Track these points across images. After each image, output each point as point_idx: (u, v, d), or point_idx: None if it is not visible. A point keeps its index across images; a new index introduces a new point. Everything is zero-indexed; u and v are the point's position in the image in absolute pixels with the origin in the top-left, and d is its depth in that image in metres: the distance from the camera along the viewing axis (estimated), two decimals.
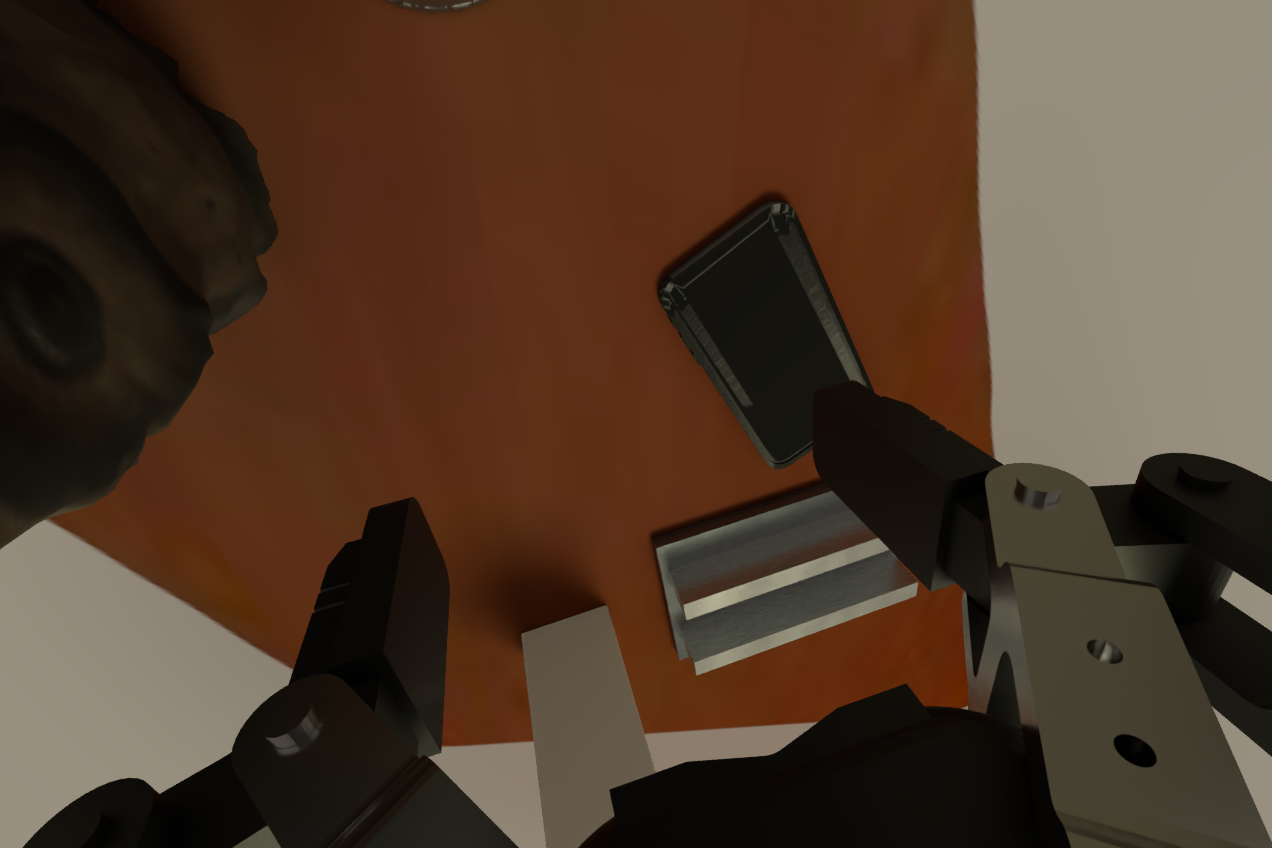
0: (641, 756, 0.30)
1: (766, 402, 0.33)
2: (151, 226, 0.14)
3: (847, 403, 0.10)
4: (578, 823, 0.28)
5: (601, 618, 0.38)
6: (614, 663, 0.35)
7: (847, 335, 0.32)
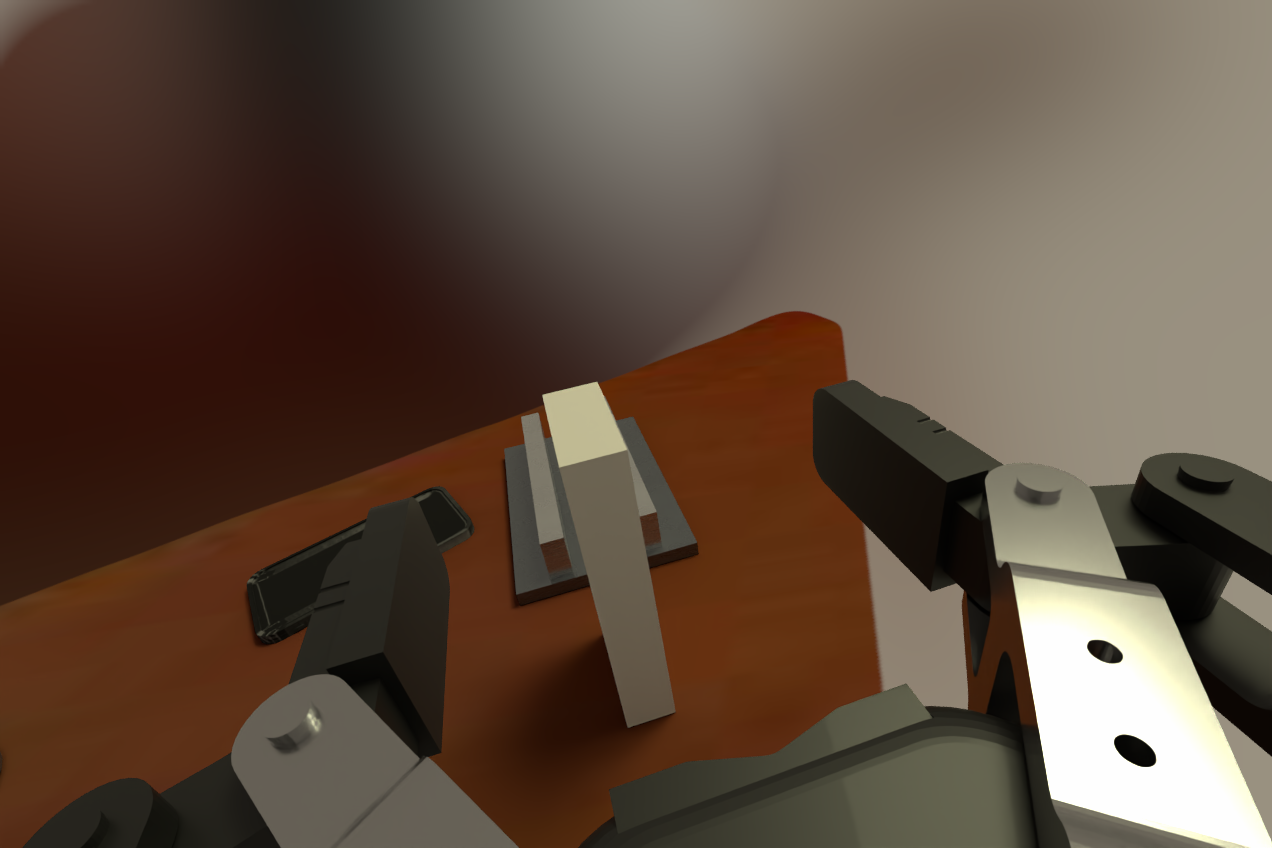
0: None
1: None
2: None
3: (847, 403, 0.10)
4: None
5: None
6: None
7: None
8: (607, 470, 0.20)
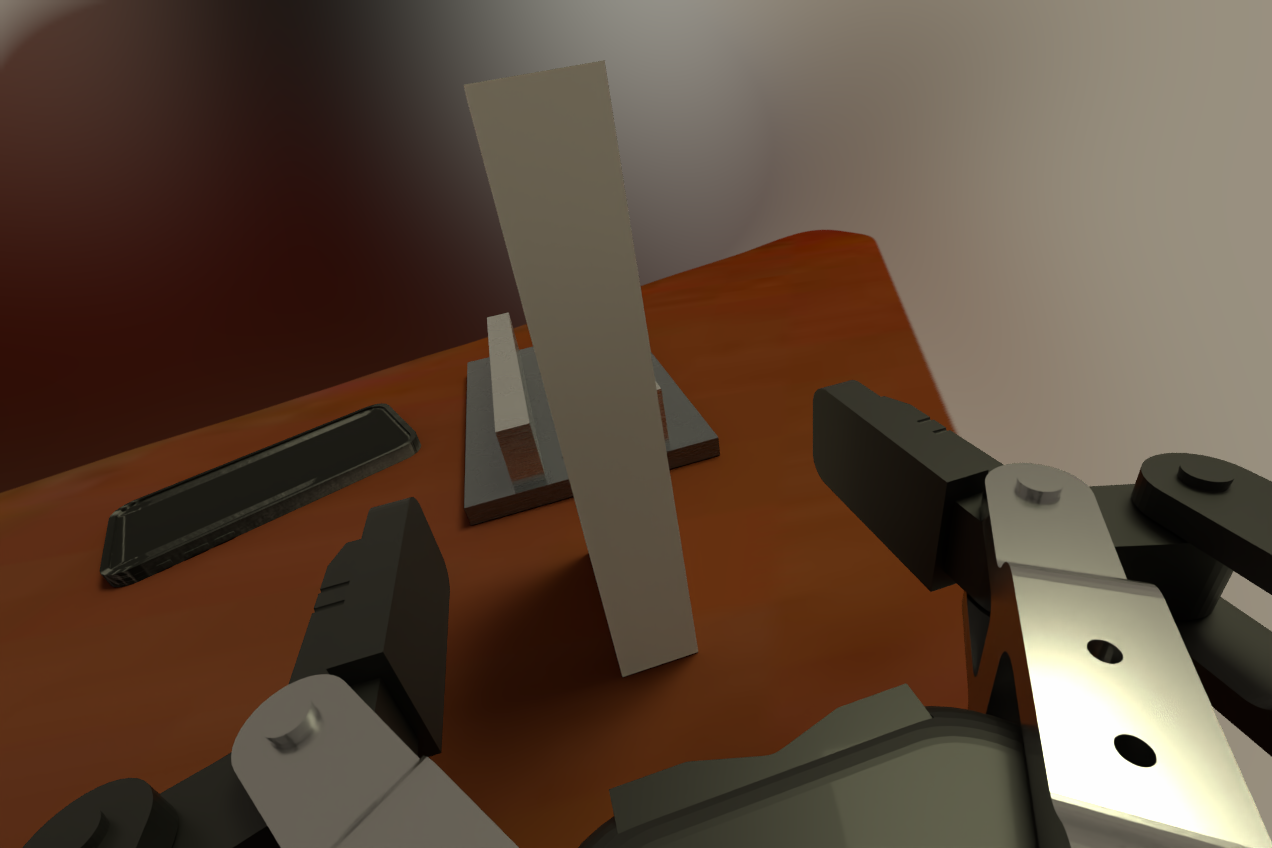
0: None
1: (321, 469, 0.31)
2: None
3: (847, 403, 0.10)
4: None
5: None
6: None
7: (290, 438, 0.35)
8: (566, 111, 0.10)
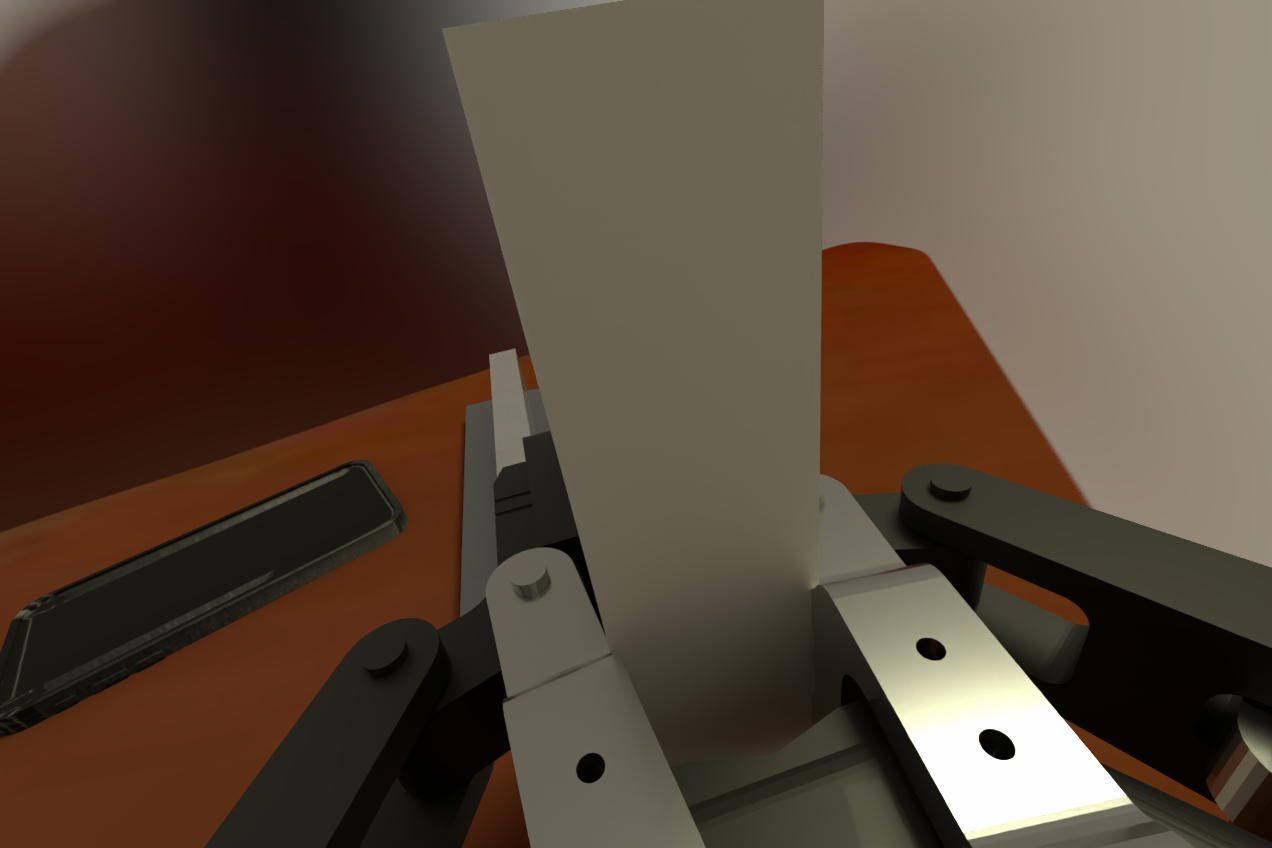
0: None
1: (282, 556, 0.25)
2: None
3: None
4: None
5: None
6: None
7: (249, 506, 0.29)
8: (712, 105, 0.04)
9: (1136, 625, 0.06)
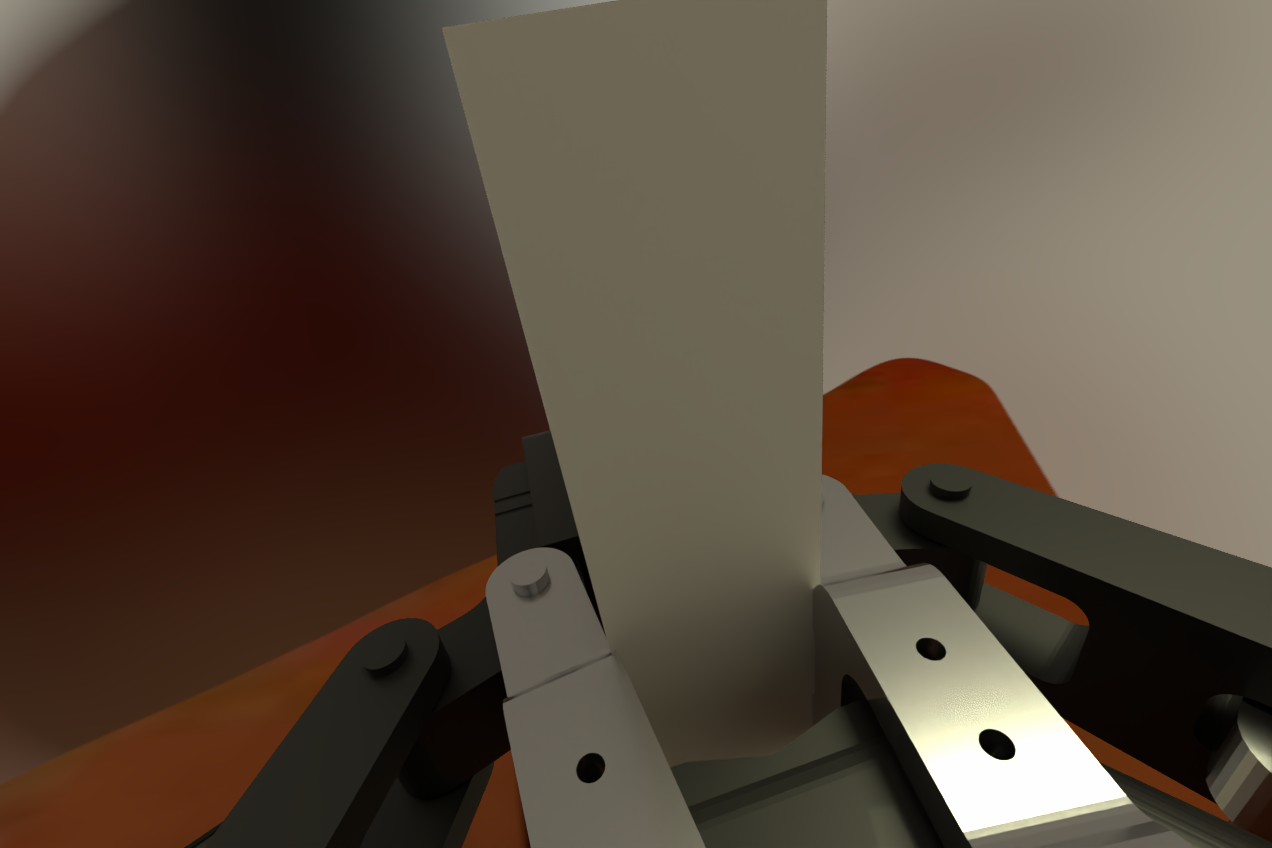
0: None
1: None
2: None
3: None
4: None
5: None
6: None
7: None
8: (714, 104, 0.04)
9: (1136, 625, 0.06)
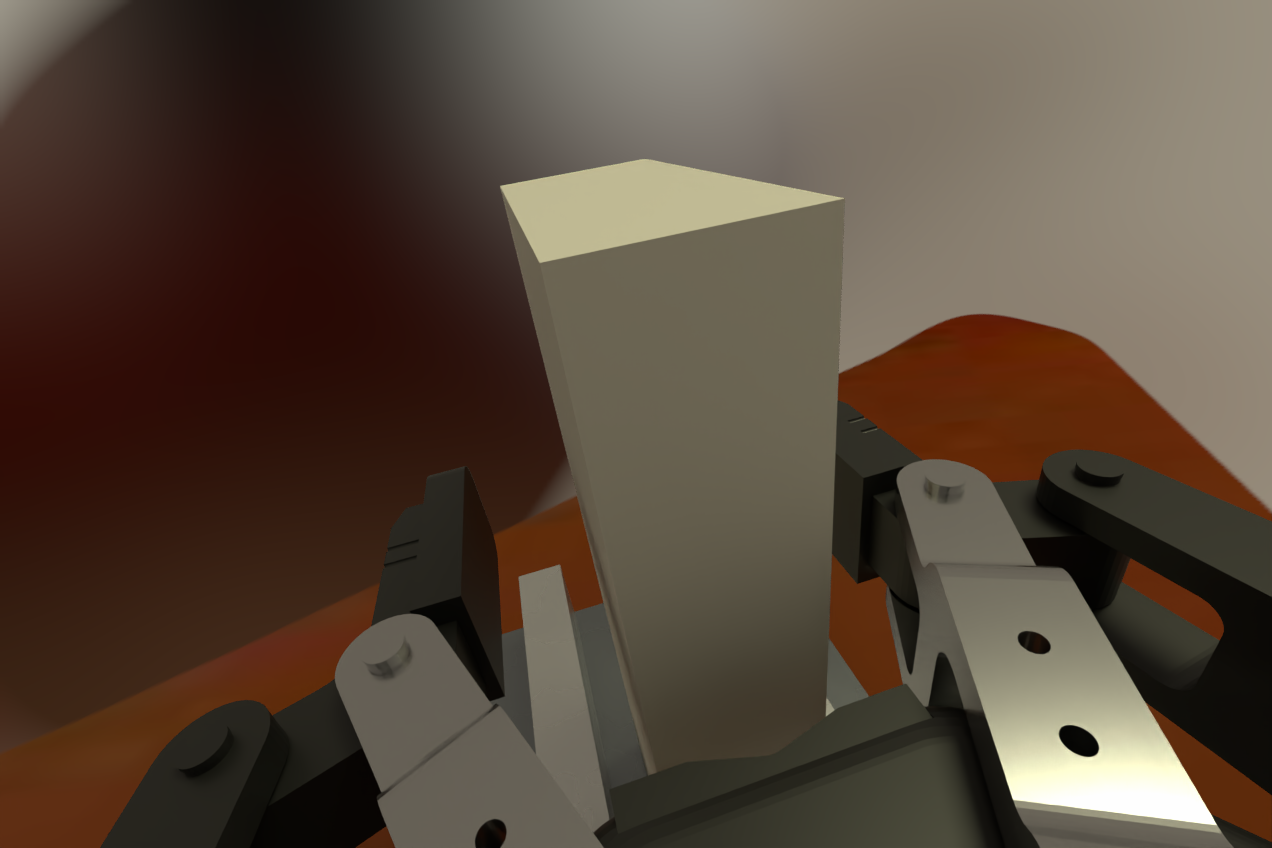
0: (572, 476, 0.12)
1: None
2: None
3: None
4: (588, 511, 0.07)
5: (639, 743, 0.16)
6: (619, 662, 0.15)
7: None
8: (751, 301, 0.05)
9: None
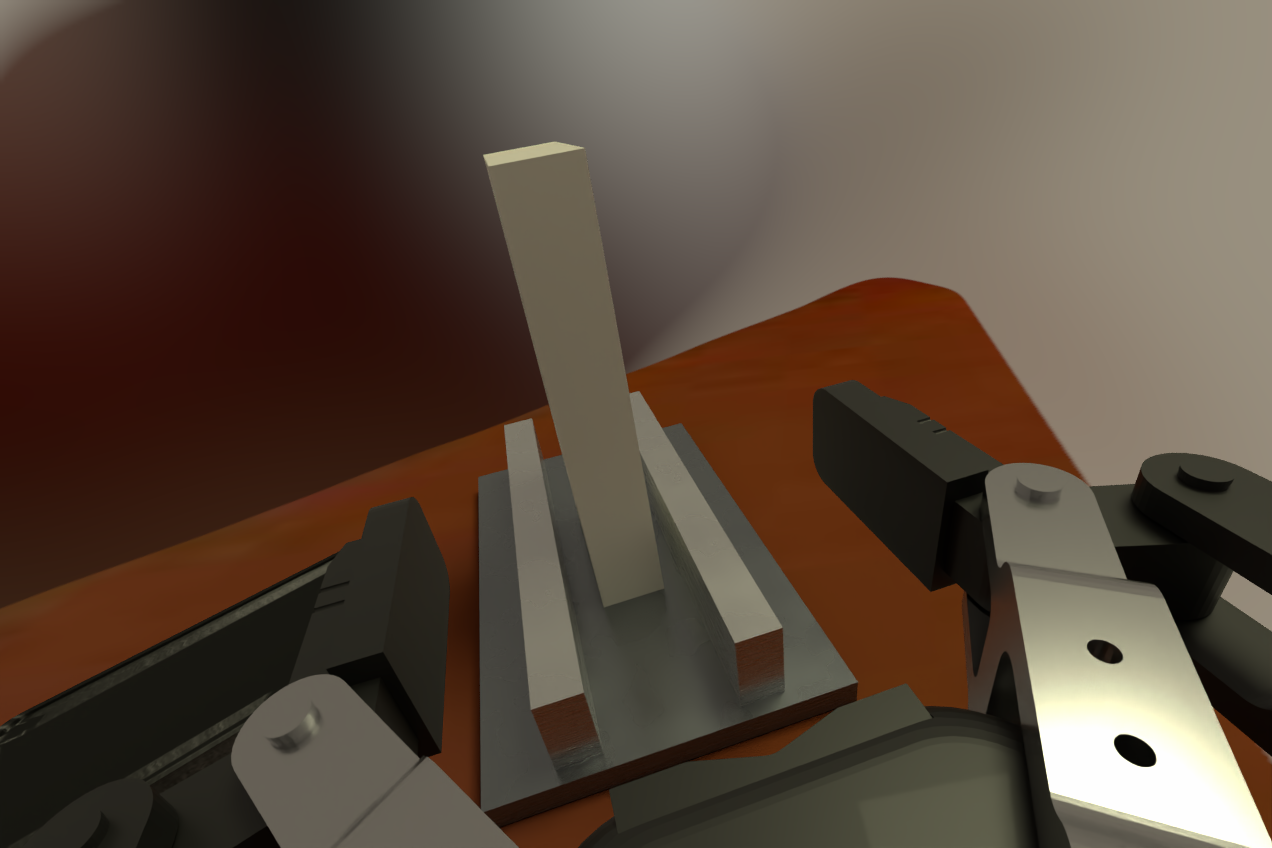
0: (525, 314, 0.22)
1: (279, 673, 0.22)
2: None
3: (847, 403, 0.10)
4: (520, 290, 0.17)
5: None
6: (559, 443, 0.25)
7: (243, 601, 0.26)
8: (558, 181, 0.15)
9: None
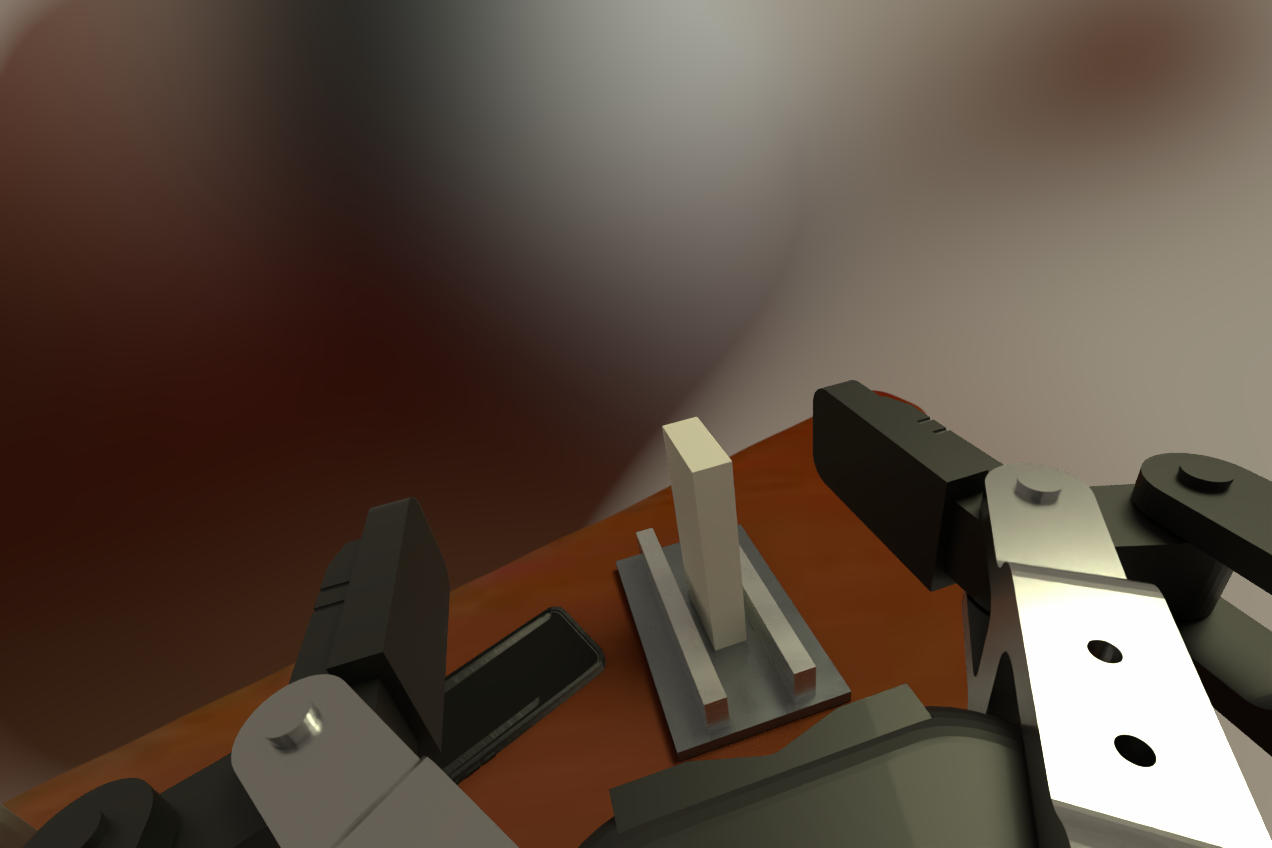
0: (674, 495, 0.41)
1: (539, 686, 0.41)
2: None
3: (847, 403, 0.10)
4: (689, 504, 0.36)
5: (689, 589, 0.45)
6: (683, 556, 0.44)
7: (496, 644, 0.45)
8: (719, 474, 0.34)
9: None
